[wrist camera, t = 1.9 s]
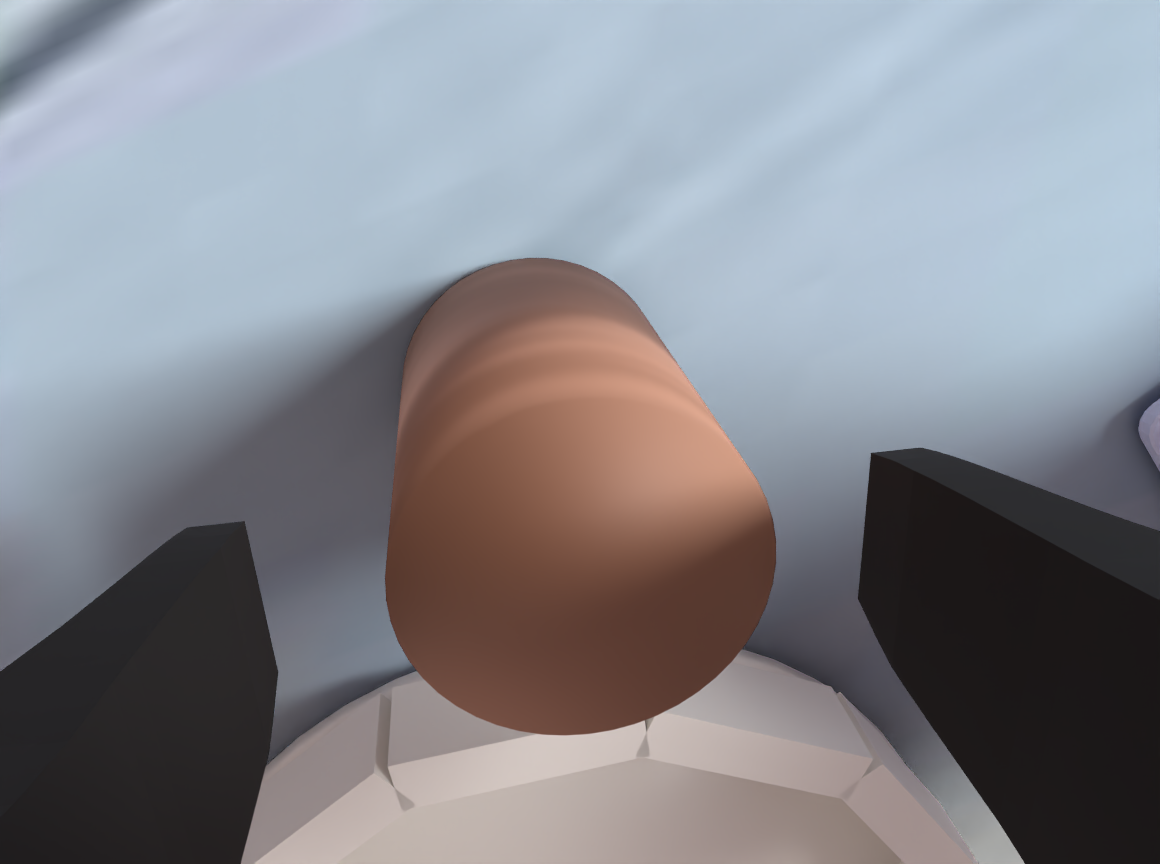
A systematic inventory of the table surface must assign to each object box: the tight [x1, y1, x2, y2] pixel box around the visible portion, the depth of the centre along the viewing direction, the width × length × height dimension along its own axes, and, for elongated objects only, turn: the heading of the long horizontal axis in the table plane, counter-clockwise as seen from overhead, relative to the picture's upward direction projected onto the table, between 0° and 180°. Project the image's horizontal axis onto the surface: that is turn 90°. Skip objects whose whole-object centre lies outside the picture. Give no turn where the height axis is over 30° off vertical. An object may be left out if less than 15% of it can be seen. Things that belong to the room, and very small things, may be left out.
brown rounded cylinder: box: [385, 258, 776, 736], centre depth 13 cm, size 4×4×6 cm
